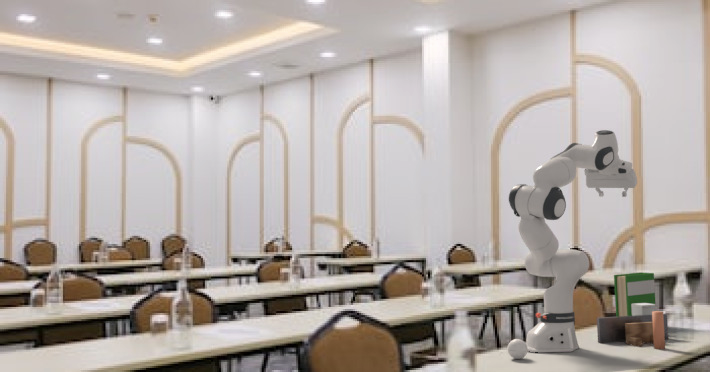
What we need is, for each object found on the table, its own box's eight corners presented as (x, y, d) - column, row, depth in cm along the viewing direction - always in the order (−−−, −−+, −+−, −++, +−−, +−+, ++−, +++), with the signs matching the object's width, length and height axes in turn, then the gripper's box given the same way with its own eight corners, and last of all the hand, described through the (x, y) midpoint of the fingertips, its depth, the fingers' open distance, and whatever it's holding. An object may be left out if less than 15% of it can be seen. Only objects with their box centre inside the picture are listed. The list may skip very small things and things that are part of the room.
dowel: (657, 349, 277) (655, 312, 278) (651, 347, 281) (649, 311, 282) (667, 349, 278) (665, 312, 278) (661, 347, 282) (659, 310, 282)
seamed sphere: (525, 356, 273) (524, 336, 274) (530, 360, 266) (529, 340, 266) (498, 357, 273) (497, 338, 273) (503, 361, 266) (502, 341, 266)
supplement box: (643, 334, 311) (641, 305, 311) (632, 332, 318) (630, 303, 318) (657, 333, 313) (656, 304, 313) (646, 331, 320) (645, 302, 320)
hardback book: (629, 329, 326) (626, 275, 327) (616, 327, 332) (613, 275, 333) (656, 325, 334) (653, 273, 335) (643, 323, 340) (640, 272, 341)
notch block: (635, 346, 286) (634, 325, 286) (626, 343, 292) (625, 323, 293) (663, 344, 287) (662, 324, 288) (653, 341, 294) (652, 321, 295)
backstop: (600, 343, 295) (599, 318, 295) (597, 342, 297) (596, 317, 297) (668, 338, 300) (667, 314, 300) (665, 337, 302) (664, 313, 302)
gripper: (581, 170, 304) (586, 199, 309) (632, 169, 293) (636, 199, 298) (585, 163, 309) (589, 192, 314) (636, 162, 297) (639, 192, 303)
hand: (612, 196), depth 306 cm, fingers open, 8 cm apart
